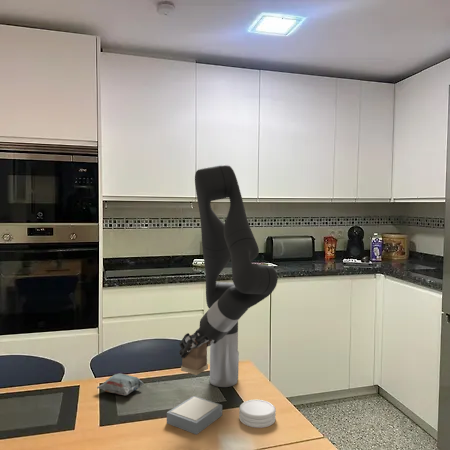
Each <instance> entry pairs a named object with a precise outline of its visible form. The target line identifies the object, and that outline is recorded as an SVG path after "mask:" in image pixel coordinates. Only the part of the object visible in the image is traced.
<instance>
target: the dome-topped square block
mask: <svg viewBox="0 0 450 450" xmlns="http://www.w3.org/2000/svg"><path fill="white" fill-rule="evenodd" d="M191 335H192V334H190V336H191ZM194 340H195V342H196V344H198V343H197V341H196V339H194ZM190 347H192V344H191V346H190ZM181 360H182V361H181V362H182V363H181V366H180V370H181V371H182V372H185V373H189V374H192V375H195V376H197V375H199V374H201V373H203V372H205V371H206V370H208V369H209V364H208V347H207V342H206V343H204V344H202V345H201V346H200V347H198V348H194V349H193V350H192V351H191V352H190V353H189V354H188V355H187V356H186V357H185V358H183V359H182V358H181Z"/></svg>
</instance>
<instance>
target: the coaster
mask: <svg viewBox="0 0 450 450" xmlns="http://www.w3.org/2000/svg"><path fill="white" fill-rule="evenodd" d="M238 408H239V412H238V413H239V414H238V415H239V416H238V417H239V418H238V419H239V420H240V422H241V423H242V424H244V425H245V426H247V427H250V428H255V429H261V428H262V429H263V428H267V427H270V426H272V425H273V424H275V422H276V419H277V418H276V414H277V413H276V412H277V411H276V406H275V405H273V404H272V403H271V402H269V401H267V400H262V399H250V400H249V399H248V400H245V401H244V402H242V403H241V404H240V405H239V407H238Z"/></svg>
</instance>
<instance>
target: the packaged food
mask: <svg viewBox="0 0 450 450" xmlns="http://www.w3.org/2000/svg"><path fill="white" fill-rule="evenodd" d="M144 385H145V383H144V382H143V381H142V380H141V379H140V378H138V376H133V375H128V374H124V373H115V374H113V375H112V376H110V377H109V378H108V379H106V380H105V381H104V382H103V383H102V384H100V385H98V386H97V387H96V389H99V390H103V392H106V393H112V394H117V395H119V396H128V395H130V394H131V393H132V392H134V391H136V390H138V389H139V388H141V387H142V386H144Z"/></svg>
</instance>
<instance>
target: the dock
mask: <svg viewBox="0 0 450 450" xmlns="http://www.w3.org/2000/svg"><path fill="white" fill-rule="evenodd" d="M222 416H223V404H220V403H217V402H214V401H211V400H209V399H205V398H203V397H200V396H196V395H193V396H191V397H189V398H188V399H185V400H184V401H183V402H181V403H180V404H178V405H176V406H175V407H173V408H172V409H170V410H168V411H166V424H168V425H170V426H173V427H176V428H179V429H181V430H184V431H186V432H188V433H191V434H194V435H199V433H201V432H202V431H203V430H204V429H206V428H208V427H209V426H210V425H211V424H213V423H214V422H216V421H217V420H218V419H219V418H220V417H222Z"/></svg>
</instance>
